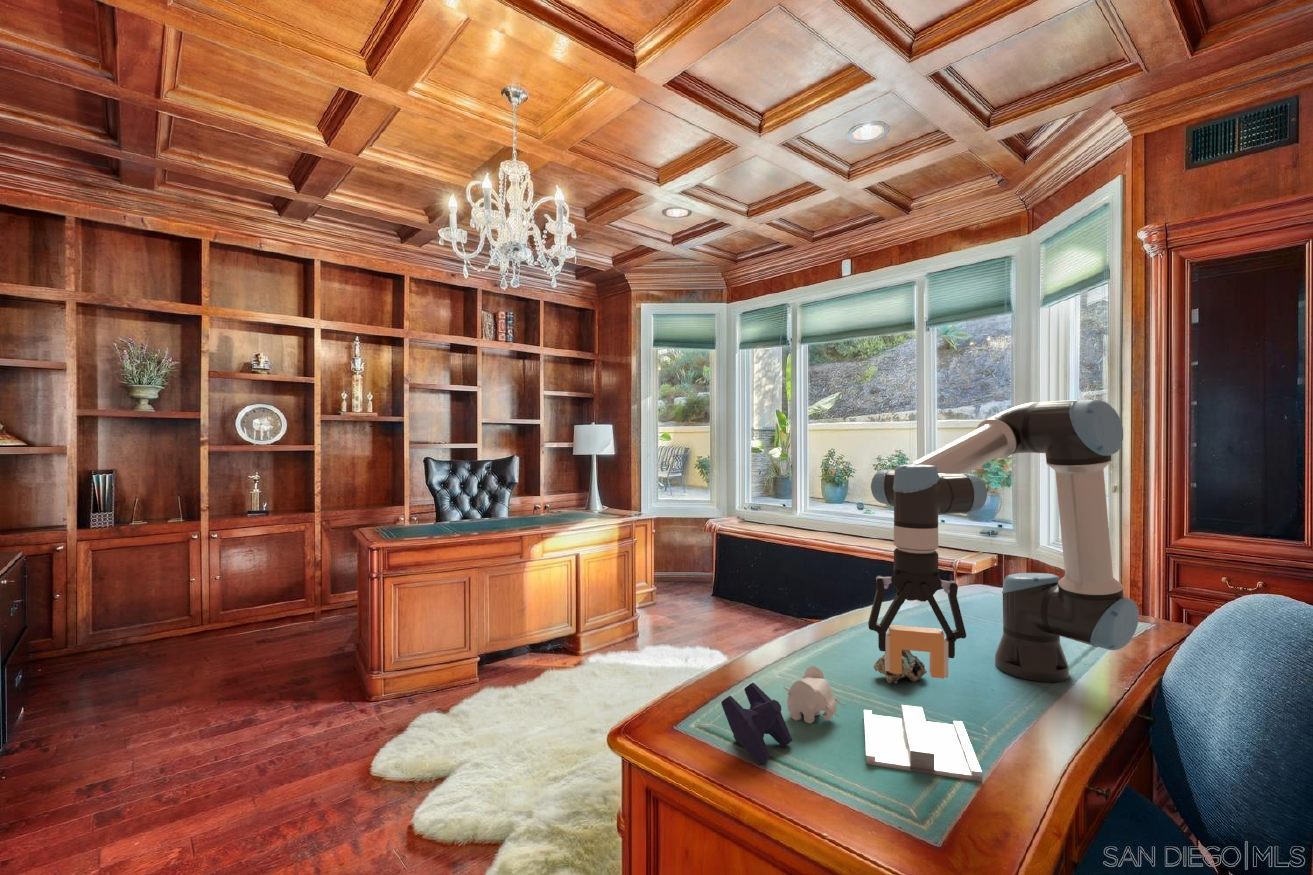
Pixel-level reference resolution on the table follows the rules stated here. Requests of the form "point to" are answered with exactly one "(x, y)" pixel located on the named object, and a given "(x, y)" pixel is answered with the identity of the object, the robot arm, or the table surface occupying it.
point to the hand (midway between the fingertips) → (915, 671)
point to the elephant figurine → (811, 697)
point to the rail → (919, 745)
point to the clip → (917, 646)
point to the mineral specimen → (903, 668)
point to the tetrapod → (756, 722)
